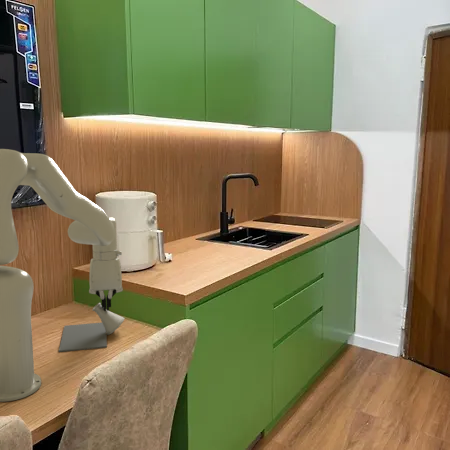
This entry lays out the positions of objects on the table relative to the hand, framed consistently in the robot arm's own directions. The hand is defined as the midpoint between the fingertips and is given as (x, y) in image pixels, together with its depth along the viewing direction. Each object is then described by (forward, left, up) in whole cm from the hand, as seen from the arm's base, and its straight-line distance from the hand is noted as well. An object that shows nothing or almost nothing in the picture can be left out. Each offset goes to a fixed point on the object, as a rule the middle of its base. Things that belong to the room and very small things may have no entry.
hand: (106, 309), depth 141 cm
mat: (-7, 0, -9) cm, 11 cm away
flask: (+3, 0, -7) cm, 7 cm away
